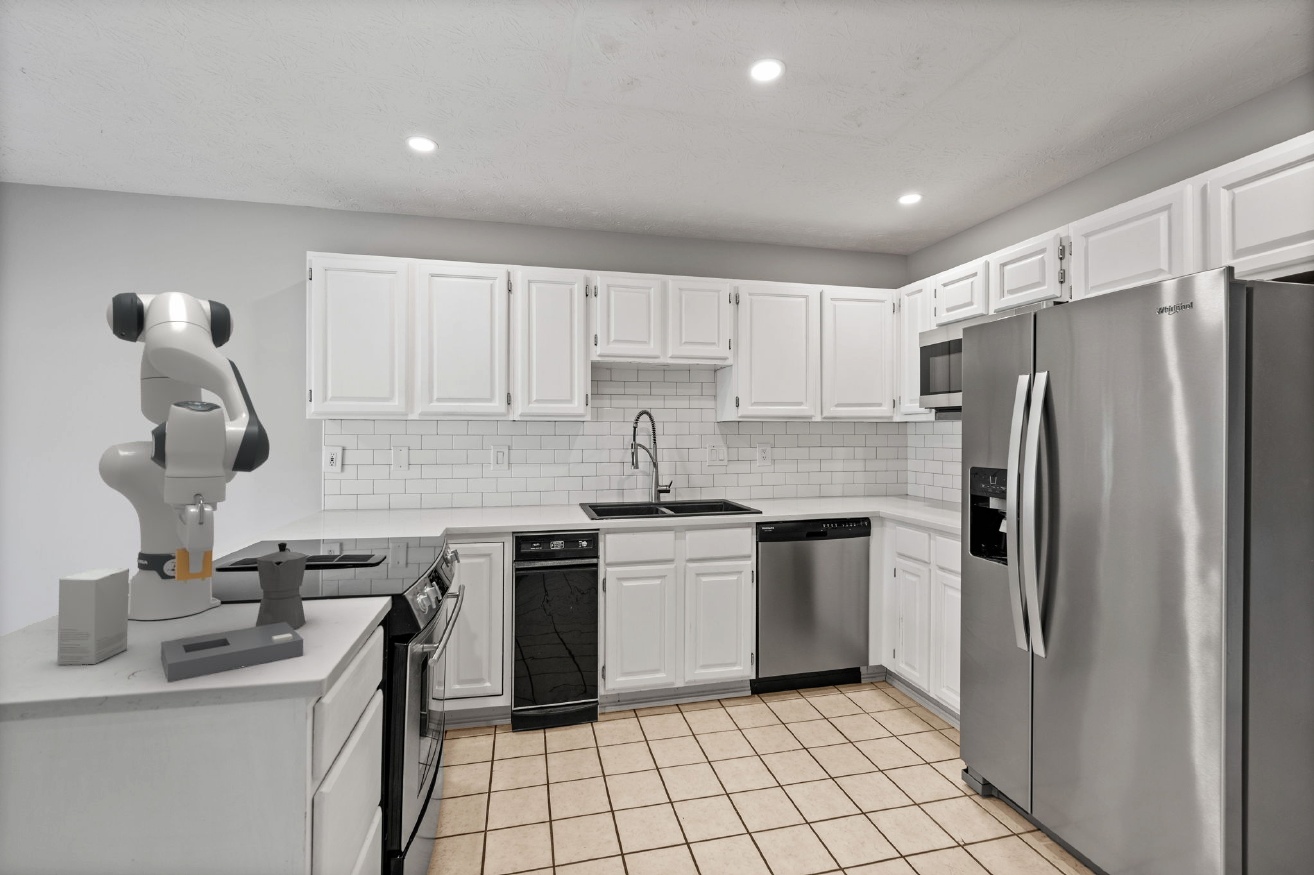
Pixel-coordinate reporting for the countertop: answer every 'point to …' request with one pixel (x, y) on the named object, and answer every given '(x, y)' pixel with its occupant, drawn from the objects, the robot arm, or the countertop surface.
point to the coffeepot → (281, 587)
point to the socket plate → (229, 650)
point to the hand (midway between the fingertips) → (193, 569)
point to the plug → (183, 566)
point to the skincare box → (92, 615)
